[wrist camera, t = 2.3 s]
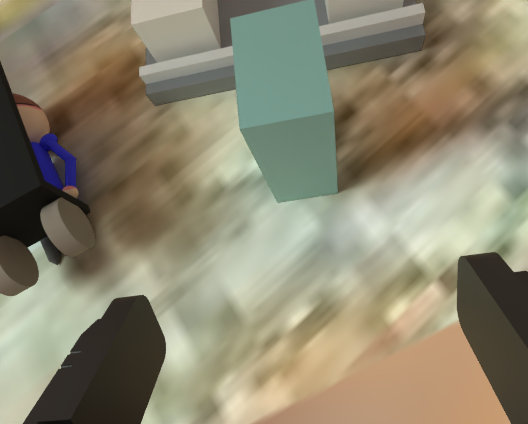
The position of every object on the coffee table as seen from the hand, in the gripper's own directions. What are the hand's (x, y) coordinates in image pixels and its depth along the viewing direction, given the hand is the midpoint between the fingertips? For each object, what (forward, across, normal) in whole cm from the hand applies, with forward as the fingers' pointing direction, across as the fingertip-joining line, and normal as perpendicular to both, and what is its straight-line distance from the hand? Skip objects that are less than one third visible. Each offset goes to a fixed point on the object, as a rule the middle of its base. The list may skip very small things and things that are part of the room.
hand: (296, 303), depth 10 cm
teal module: (+17, 0, +2) cm, 18 cm away
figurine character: (+18, +19, +2) cm, 26 cm away
